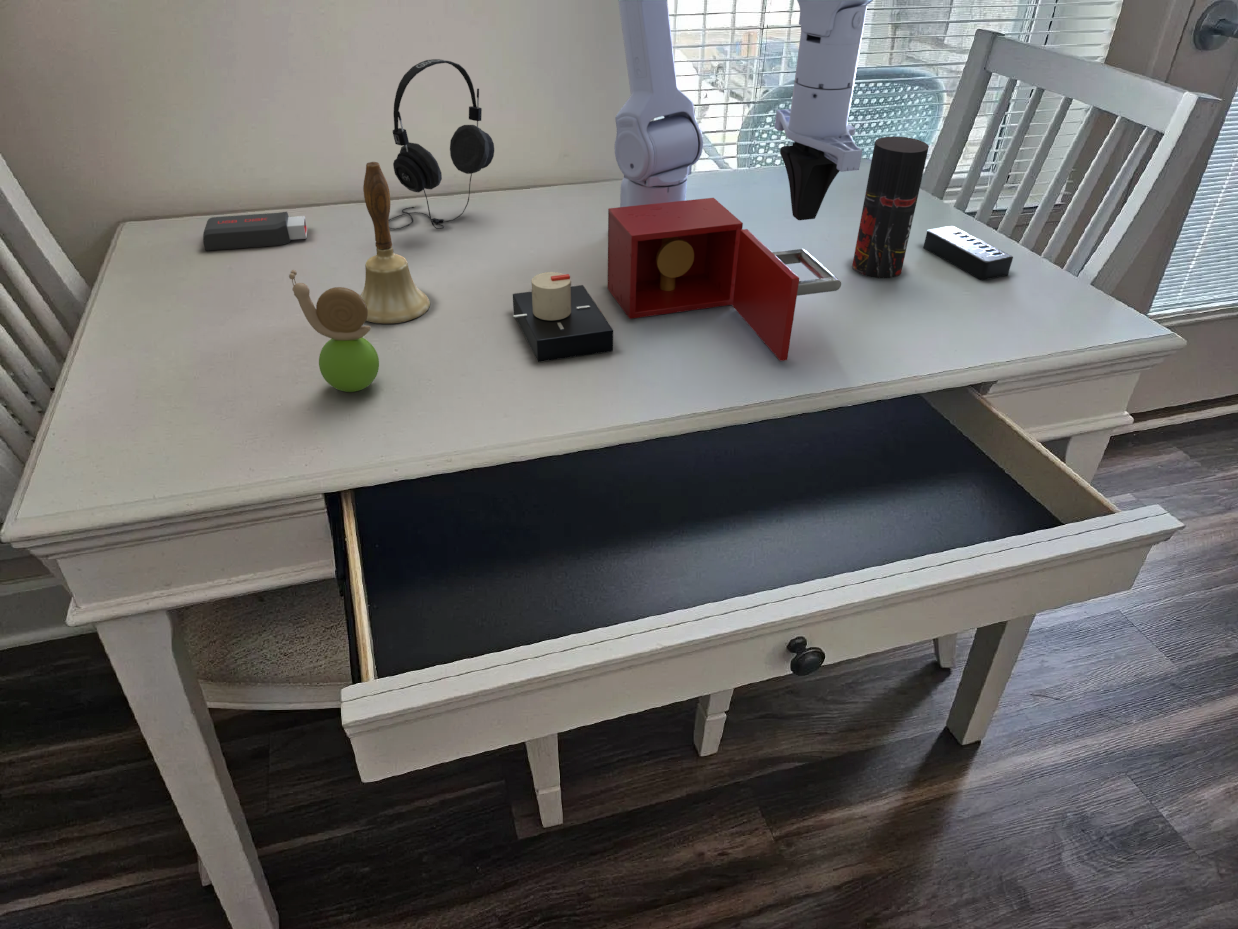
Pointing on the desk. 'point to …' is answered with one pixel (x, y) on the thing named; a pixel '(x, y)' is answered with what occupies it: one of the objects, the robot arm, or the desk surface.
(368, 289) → the hand bell
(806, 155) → the robot arm
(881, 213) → the deodorant
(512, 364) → the desk surface
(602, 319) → the panel
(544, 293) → the lock dial
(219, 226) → the usb drive
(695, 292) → the cabinet
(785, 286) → the red drawer
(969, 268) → the multiport hub
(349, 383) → the snail figurine
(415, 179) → the headphones
